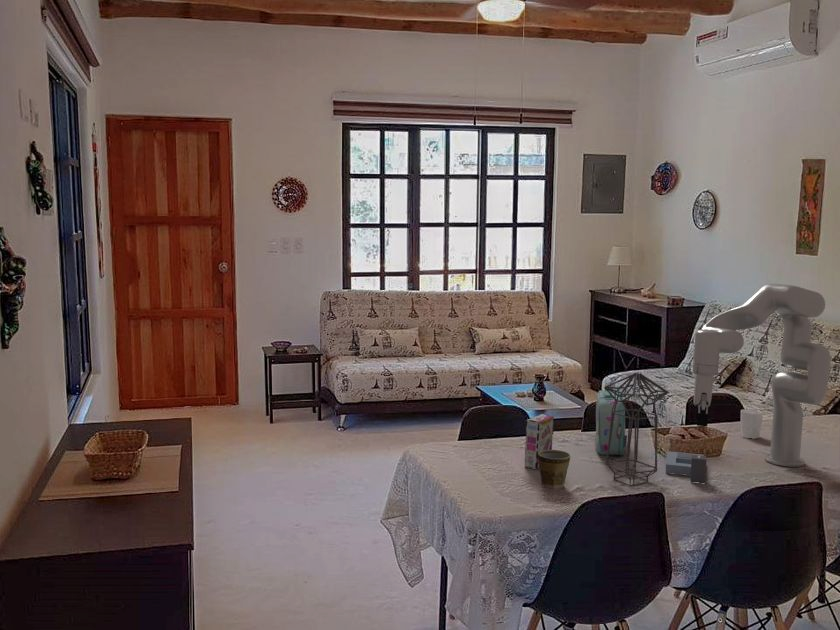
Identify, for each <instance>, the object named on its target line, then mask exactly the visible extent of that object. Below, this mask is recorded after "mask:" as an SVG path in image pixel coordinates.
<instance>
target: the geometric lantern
mask: <svg viewBox="0 0 840 630" xmlns="http://www.w3.org/2000/svg"><path fill="white" fill-rule="evenodd" d="M623 381H624V382H623ZM632 381H633V383H632ZM620 382H623V383H622V384H620V386H618V387H616V386H613V385H615V384H618V383H620ZM652 385H653V386H652ZM637 387H638V394H637V395H636V388H637ZM654 387H655V388H657V389H655V388H654ZM628 388H629V389H628ZM603 389H604V390H605V391H607V392H608V393H609V394H610V395H611V396H612V397H613V399H614V400H615V402H616V403H615V402H614V405H615V407H614V405H613V408H614V411H613V408H612V411H613V412H612V411H611V412H612V414H611V423H610V433H609V442H608V452H607V455H606V461H605V465H606V467H608V468H609V470H611V472H612V473H613V481H616V482H619V483H622V484H624V485H626V486H629V487H634V486H638V485H643V484H647V483H649V477H650V476H652V475H653V474H655V473H657V471H658V423H659V421H658V418H659V415H658V414H657V407H656V403H657V402H658V401H659V400H661V399H662V398H664V397H665V396H666V395H668V394H670V391H668V390H667V389H665V388H664V387H662V386H660V385H659V384H658V383H656V382H655V381H653V380H651V379H650V378H648V377H647V376H645V375H644V374H643V373H641V372H640V373H639V372H633V373H632V374H630V375H628V376H626V377H624V378H621V379H618V380H616V381H614V382H611V383H609V384H606V385H605V386H604V387H603ZM621 389H622V390H621ZM627 389H628V390H627ZM619 390H621V392H620V391H619ZM610 391H611V392H612V393H614V395H615V397H614V396H613V395H612V394H611V392H610ZM630 391H632V393H629V392H630ZM646 391H648V392H649V394H647V393H646ZM641 392H642V393H641ZM617 393H618V394H617ZM619 393H620V395H619ZM616 395H617V399H616ZM618 397H620V400H618ZM621 397H622V398H624V399H623V400H622V398H621ZM632 397H637V398H639V399H640V400H641V401H642V405H641V406H640V407H639V409H634V408H633V406H632V405H631V403H630V402H629V399H630V398H632ZM643 397H645V398H646V399H645V400H644V399H643ZM652 397H653V398H652ZM649 400H651V401H652V402H649ZM625 401H627V403H628V405H629V406H630V408H631V409H627V407H626V405H625ZM617 402H622V403H623V406H624V409H625V410H619V411H615V409H616V405H617ZM651 405H652V407H653V413H651V412H647V411H644V410H642V409H643V408H644V406H647V407H648V406H651ZM620 411H625V413H626V414H627V415H628V416H626V415H625V416H624V415H620V414H617V413H615V412H620ZM630 411H631V415H630ZM635 412H637V413H636V414H635ZM640 412H641V413H644V414H648V415H651V416H647V417H640ZM615 414H617V415H620V416H623V417H625V419H626V418H627V419H628V427H627V428H628V429H627V430H628V431H627V444H626V456H625V459H622V460H621V459H619V460H613V461H609V456H610V455H609V450H610V443H611V436H612V429H613V422H614V415H615ZM645 419H646V420H647V419H654V465H651V464H649V463H646V462H642V461H640V460H638V455H639V454H638V453H639V452H638V451H639V429H640V420H645ZM633 424H634V425H633ZM633 426H634V442H633V443H634V444H633V445H634V447H633V449H634V450H633V453H634V456H633V458H634V459H631V458H630V452H631V443H632V433H633ZM622 462H625V468H624V469H620V468H618V467H615V466H613V465H610V464H615V463H622ZM630 462H633V465H632V467H631V469H630ZM637 463H638V464H641V465H645V466H646V467H649V468H653V469H651V470H643V471H641V470H640V471H638V470H637ZM615 470H616V471H615ZM620 473H624V475H623V474H620ZM637 474H641V475H644V476H637ZM616 475H618V476H616ZM631 477H632V478H631ZM618 478H619V479H620V478H625V479H628V480H629V483H627V482H624V481H622V480H618ZM638 479H640V480H642V481H643V482H639V483H635V480H638Z"/></svg>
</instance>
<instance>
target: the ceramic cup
mask: <svg viewBox="0 0 840 630" xmlns="http://www.w3.org/2000/svg"><path fill="white" fill-rule="evenodd" d="M570 460H571V454H570V453H569V452H567V451H564V450H558V449H552V450H543V451H540V452H538V461H539V467H540V468H539V473H540V479H541V480H540V481H541V485H542V486H543V485H544V486H543V487H545V488H546V487H548V488H547V489H552V488H558V489H562V488H563V487H564V486H565V482H566V478H567V472H568V469H569V465H570Z"/></svg>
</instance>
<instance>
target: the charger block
mask: <svg viewBox="0 0 840 630" xmlns="http://www.w3.org/2000/svg"><path fill="white" fill-rule="evenodd" d="M701 455H702V454H701ZM701 455H692V458H691V476H689V477H690V478H689V479H690V481H691V482H699V483H705V484H706V475H707V474H706V473H707V455H704V456H701ZM690 481H689V482H690Z"/></svg>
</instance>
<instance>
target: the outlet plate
mask: <svg viewBox="0 0 840 630" xmlns="http://www.w3.org/2000/svg"><path fill="white" fill-rule="evenodd" d="M692 455H701V456H705V455H704V454H699V453H698V454H697V453H688V452H680V451H678V452H677V451H666V458H665V471H664V472H665V474H669V473H674V474H673V475H678V474H686V475H685V476H687V475H691V458H692Z"/></svg>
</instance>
